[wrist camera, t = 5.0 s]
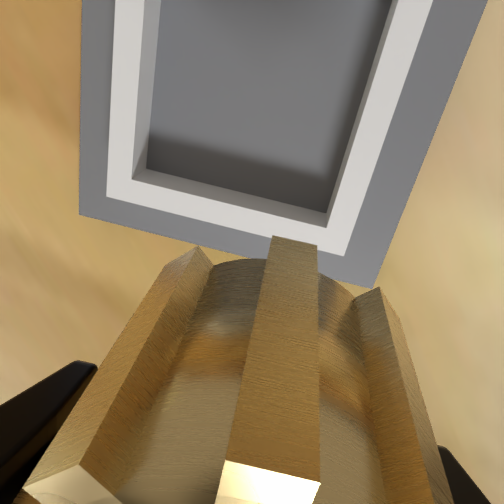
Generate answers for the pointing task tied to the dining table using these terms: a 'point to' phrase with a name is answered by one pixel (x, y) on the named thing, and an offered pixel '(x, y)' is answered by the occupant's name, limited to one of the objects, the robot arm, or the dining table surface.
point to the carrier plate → (265, 119)
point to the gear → (249, 397)
